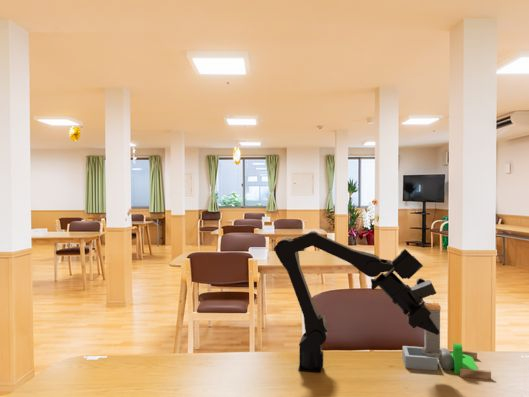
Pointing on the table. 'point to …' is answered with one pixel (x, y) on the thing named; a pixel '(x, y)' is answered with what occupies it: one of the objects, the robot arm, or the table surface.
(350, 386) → the table surface
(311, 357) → the robot arm
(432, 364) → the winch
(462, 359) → the mechanical part
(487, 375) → the bay rails
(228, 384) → the table surface
